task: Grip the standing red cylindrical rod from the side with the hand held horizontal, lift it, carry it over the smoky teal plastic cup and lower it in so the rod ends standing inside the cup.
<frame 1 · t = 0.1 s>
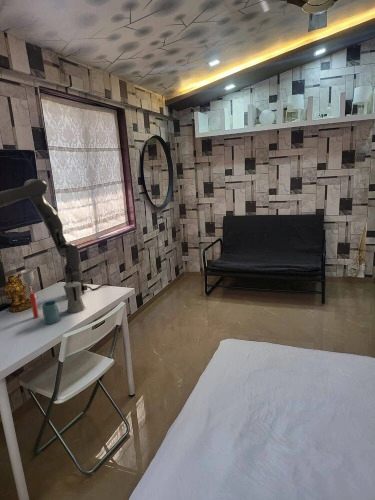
coffeepot: (76, 310, 185), on the table
cup: (52, 321, 173), on the table
red cylindrical rod: (36, 317, 179), on the table
chalice: (32, 298, 209), on the table
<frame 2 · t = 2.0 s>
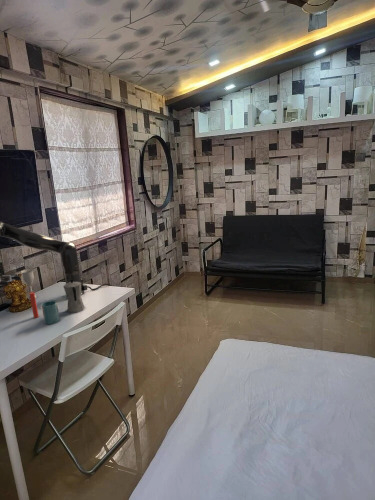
hand: (14, 280, 178), 20 cm above the table, tool horizontal, fingers open, 8 cm apart
nothing on the table moved.
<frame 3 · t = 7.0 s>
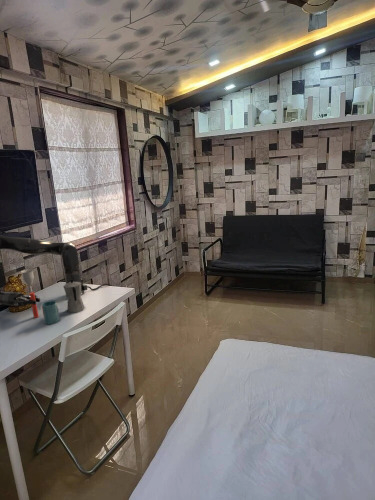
hand: (37, 301, 176), 9 cm above the table, tool horizontal, fingers closed on red cylindrical rod, 2 cm apart
red cylindrical rod: (36, 317, 179), on the table, touching gripper
everything else where it was.
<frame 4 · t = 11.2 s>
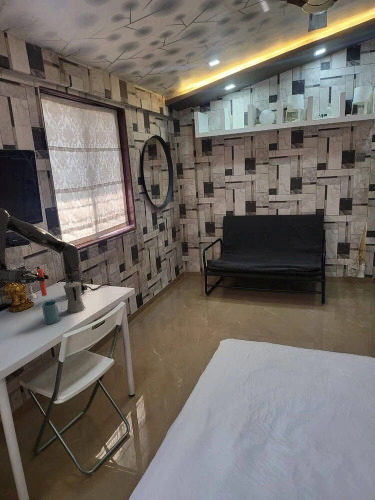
hand: (45, 278, 167), 24 cm above the table, tool horizontal, fingers closed on red cylindrical rod, 2 cm apart
red cylindrical rod: (44, 295, 171), point 14 cm above the table, touching gripper
everything else where it was.
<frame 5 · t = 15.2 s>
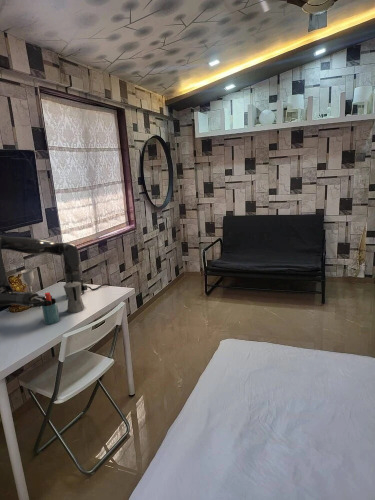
hand: (53, 301, 169), 11 cm above the table, tool horizontal, fingers closed on red cylindrical rod, 2 cm apart
red cylindrical rod: (51, 318, 172), point 2 cm above the table, touching gripper
everything else where it was.
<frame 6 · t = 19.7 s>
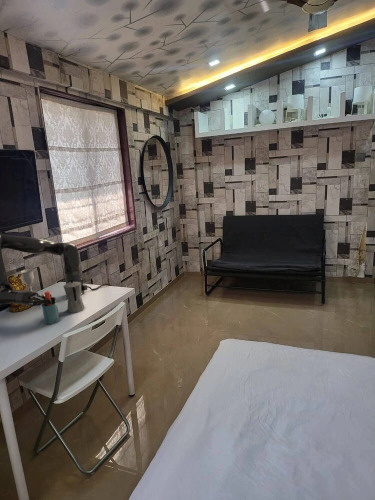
hand: (52, 300, 169), 12 cm above the table, tool horizontal, fingers closed on red cylindrical rod, 2 cm apart
red cylindrical rod: (51, 317, 172), point 2 cm above the table, touching gripper
everything else where it was.
when the fingers open (14 cm above the table, at t = 23.6 s): red cylindrical rod drops 4 cm, resting on cup.
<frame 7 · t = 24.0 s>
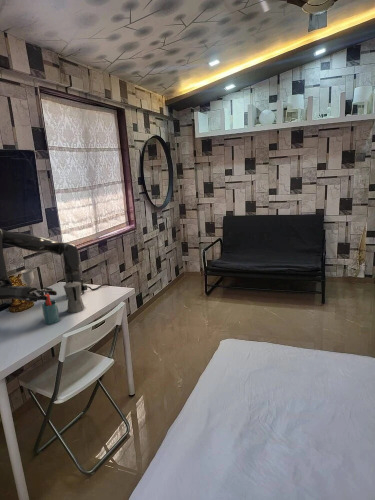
hand: (51, 295, 169), 15 cm above the table, tool horizontal, fingers open, 6 cm apart
cup: (52, 321, 173), on the table, touching red cylindrical rod
red cylindrical rod: (52, 319, 173), point 1 cm above the table, touching cup
everything else where it was.
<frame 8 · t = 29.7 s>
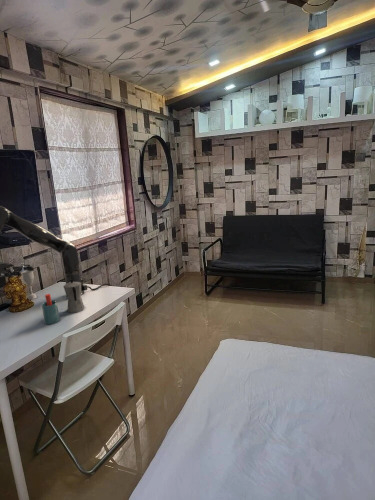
hand: (26, 271, 170), 27 cm above the table, tool horizontal, fingers open, 8 cm apart
nothing on the table moved.
at the end: red cylindrical rod 0.0 cm off-centre in the cup, point 0.8 cm above the cup's base; the gripper is holding nothing; cup tilted 0° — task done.
